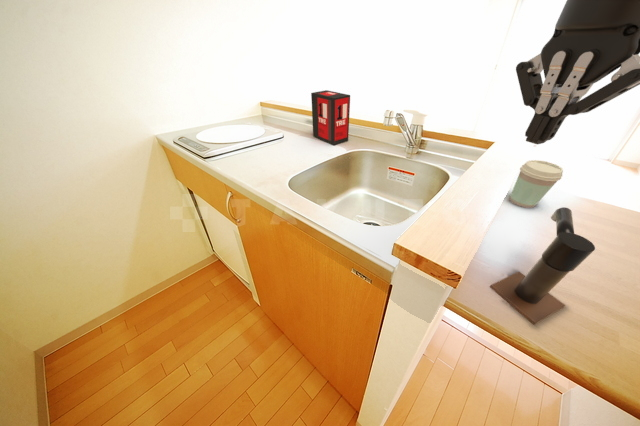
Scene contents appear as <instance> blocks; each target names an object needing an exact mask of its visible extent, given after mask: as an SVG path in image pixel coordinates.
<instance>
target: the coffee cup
mask: <svg viewBox="0 0 640 426" xmlns="http://www.w3.org/2000/svg"><path fill="white" fill-rule="evenodd" d="M563 173H564V169H563V168H562V167H561V166H560V165H558V164H556V163H553V162H550V161H545V160H539V159H531V160H527V161H526V162H525V163H523V165H521V167H519V173H518V175H517V179H516V181H515V183H514V186H513V189H512V191H511V193H510V195H509V198H508V199H509V201H510V202H511V203H512V204H514V205H516V206H518V207H521V208H525V209H532V208H534V207H536V206H537V205H538V203H539V202H540V201H541V200H542V199H543V198H544V197H545V196H546V194H547V193H548V192H549V191H550V190H551V189H552V188H553V187H554V186H555V184H556V183H557V182H558V181H560V180H562V177H563Z"/></svg>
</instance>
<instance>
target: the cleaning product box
mask: <svg viewBox="0 0 640 426" xmlns="http://www.w3.org/2000/svg"><path fill="white" fill-rule="evenodd" d="M310 96H311V117H312V137H313V138H316V139H318V140H321V141H322V142H325V143H327V144H329V145H331V146H337V145H340V144H341V145H342V144H344V143H347V142H348V141H349V130H350V111H351V110H350V109H351V94H346V93H341V92H338V91H332V90H327V89H326V90H320V91H314V92H311V94H310Z"/></svg>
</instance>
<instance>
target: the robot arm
mask: <svg viewBox="0 0 640 426" xmlns="http://www.w3.org/2000/svg"><path fill="white" fill-rule="evenodd" d="M639 54H640V0H566V1H565V4H564V6H563V8H562V10H561V13H560V15H559V17H558V19H557V21H556V23H555V26H554V31H553V34H552V36H551V38H550V39H549V40H548V41H547V42H546V43H545V45H543V47H542V48H541V51H540V53H538V54H537V55H535V56H534V57H532V58H530V59H529V60H527V61H521V62H518V64H516V66H515V72H516V76H517V80H518V85H519V89H520V93H521V97H522V101H523V105H524V106H526V107H530V108H531V109H533V111H534V114H533V117H532V118H531V121H530V122H529V125H528V127H527V128H526V130H525V135H524V136H525V142H527V143H531V144H535V145H541V144H544V143H546V142H549V141H551V140H552V139H553V138H555V136H556V135H557V132H558V131H559V129H560V127H561V126H562V124H563V122H564V121H565V120H566V118H567V117H568V116H576V115H580V114H585V113H589V112H591V111H593V110H595V109H598V108H599V107H601V106H602V105H604V104H606V103H608V102H610V101H611V100H613V99H615V98H618V97H619V96H621V95H624V94H625V93H626V92H629V91H630V90H632V89H634V88H636V87H638V86H640V55H639ZM542 71H543V74H544V81H543V78H542V74H541V73H542ZM615 71H616V72H615ZM613 72H615V73H613ZM612 73H613V75H611V74H612ZM608 75H611V78H610V82H609V83H607V84H605V85H604V86H602V87H600V88H599V89H597V90H595V91H593V92H592V93H590V94H588V95H587V96H586V94H587V93H588V92H589V91H590V89H591V88H592V87H593V85H594V84H596V83H597V82H599V81H601V80H602V79H604V78H606V77H607V76H608ZM584 96H585V97H584Z"/></svg>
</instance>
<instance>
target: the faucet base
mask: <svg viewBox="0 0 640 426" xmlns="http://www.w3.org/2000/svg"><path fill="white" fill-rule="evenodd" d="M570 272H571V271H562V270H559V269H556V268H554V267H552V266H550V265H549V264H548V263H546V262H545V261H544V260H543V258H542V256H541V257H540V259H538V260H537V262H536V263H535V264H534V265H533V266H532V268H531V269H530V270H529V271H528V273H526V275H525V274H523V273H522V272H520V271H517V272H515V273H513V274H511V275H508V276H506V277H505V278H502V279H501V280H497V281H496V282H495V283H493V284H490V285H489V288H490V289H491V290H492V291H494V292H495V293H496V294H497V295H499V296H500V297H501V298H502V299H503V300H505V302H507V304H508V305H510V306H511V307H513V308H514V309H515V310H516V311H517V312H518V313H520V315H522V317H524V318H526V319H527V320H528V321H529V322H530V323H531V324H532V325H534V326H535V325H536V324H538V323H540V322H542V321H543V320H545V319H547V318H548V317H550V316H552V315H554V314H555V313H557V312H559V311H561V310H562V309H564V308H565V307H566V304H565V303H563V302H561V300H559V299H557V298H556V297H555V296H554V295H552V294H551V293H550V292H551V291H552V290H553V289H554V288H555V287H556V286H557V285H558V284H559V283H560V282H561V281H562V280H563V279H564V278H565V277H566V276H567V275H568V274H569V273H570Z"/></svg>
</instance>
